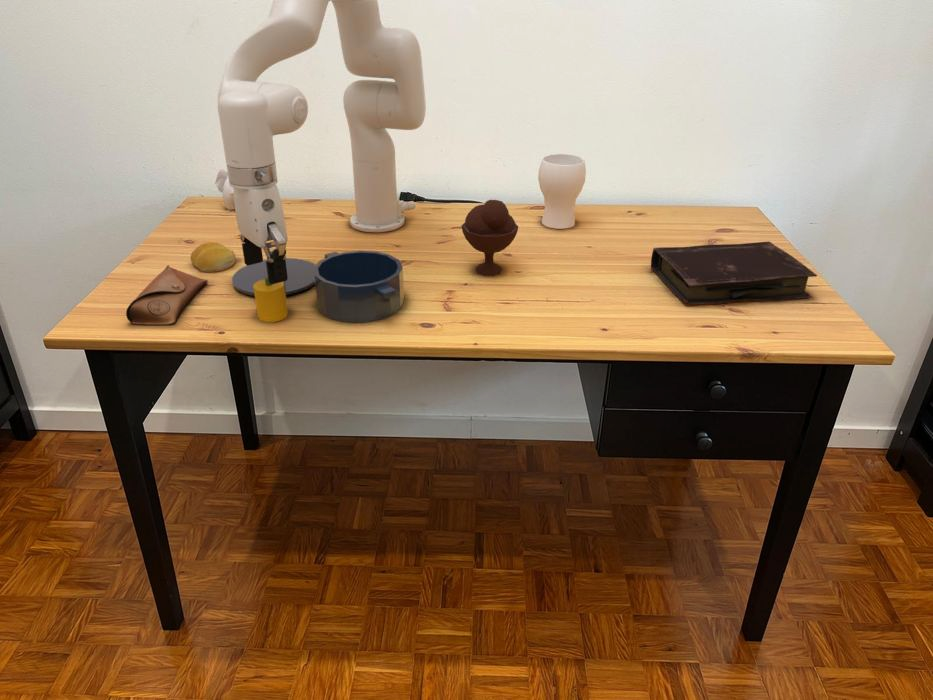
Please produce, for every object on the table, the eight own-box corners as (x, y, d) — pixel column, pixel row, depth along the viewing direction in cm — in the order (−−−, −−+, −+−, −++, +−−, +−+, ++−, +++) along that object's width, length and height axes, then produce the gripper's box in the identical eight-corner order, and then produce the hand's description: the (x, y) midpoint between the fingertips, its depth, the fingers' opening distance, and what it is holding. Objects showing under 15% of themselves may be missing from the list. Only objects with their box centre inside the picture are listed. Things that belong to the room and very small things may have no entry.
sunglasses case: (176, 322, 125) (149, 292, 122) (145, 340, 127) (118, 311, 124) (209, 279, 140) (186, 251, 138) (182, 295, 142) (159, 268, 139)
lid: (296, 256, 151) (293, 231, 148) (335, 284, 140) (333, 256, 137) (219, 276, 143) (214, 249, 140) (254, 307, 131) (250, 279, 128)
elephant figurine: (271, 198, 183) (267, 164, 178) (251, 215, 173) (245, 178, 168) (236, 196, 184) (230, 161, 180) (213, 212, 174) (207, 176, 169)
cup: (588, 221, 171) (594, 157, 164) (568, 234, 163) (574, 169, 156) (548, 212, 176) (552, 150, 168) (527, 225, 168) (530, 161, 161)
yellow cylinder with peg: (280, 305, 132) (275, 269, 128) (293, 316, 129) (288, 279, 125) (253, 313, 129) (247, 277, 126) (265, 325, 126) (259, 287, 122)
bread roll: (205, 276, 143) (201, 257, 141) (186, 262, 148) (183, 244, 146) (244, 265, 147) (241, 247, 145) (225, 252, 153) (221, 234, 151)
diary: (649, 267, 148) (652, 244, 146) (762, 261, 152) (768, 238, 149) (686, 309, 132) (691, 284, 130) (812, 300, 136) (819, 276, 133)
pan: (367, 273, 145) (365, 240, 141) (428, 312, 130) (427, 276, 127) (296, 293, 136) (291, 259, 133) (352, 337, 122) (349, 300, 119)
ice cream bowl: (521, 263, 149) (525, 193, 142) (506, 285, 140) (509, 211, 133) (472, 256, 152) (473, 186, 145) (454, 277, 143) (454, 204, 136)
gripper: (298, 183, 112) (309, 284, 120) (252, 158, 124) (265, 252, 132) (252, 191, 108) (266, 295, 116) (209, 165, 120) (225, 261, 128)
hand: (266, 272), depth 124 cm, fingers open, 9 cm apart
